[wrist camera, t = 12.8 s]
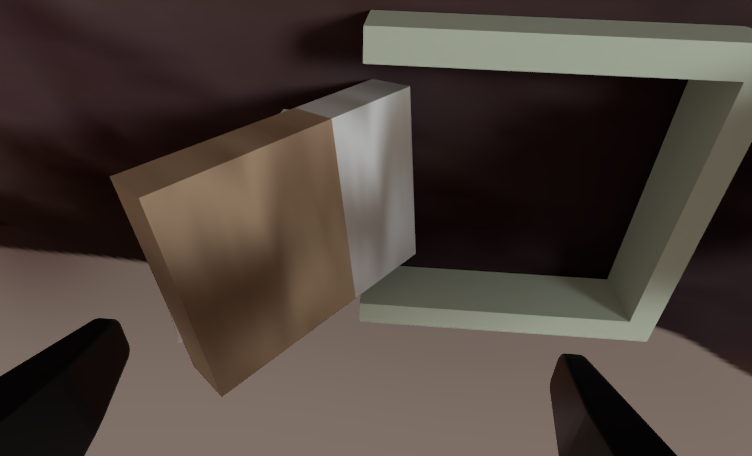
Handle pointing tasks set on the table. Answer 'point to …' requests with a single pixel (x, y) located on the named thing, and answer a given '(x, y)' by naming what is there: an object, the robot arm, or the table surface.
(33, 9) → the table surface
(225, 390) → the two-tone wooden slab
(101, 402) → the robot arm
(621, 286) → the green c-shaped bracket
